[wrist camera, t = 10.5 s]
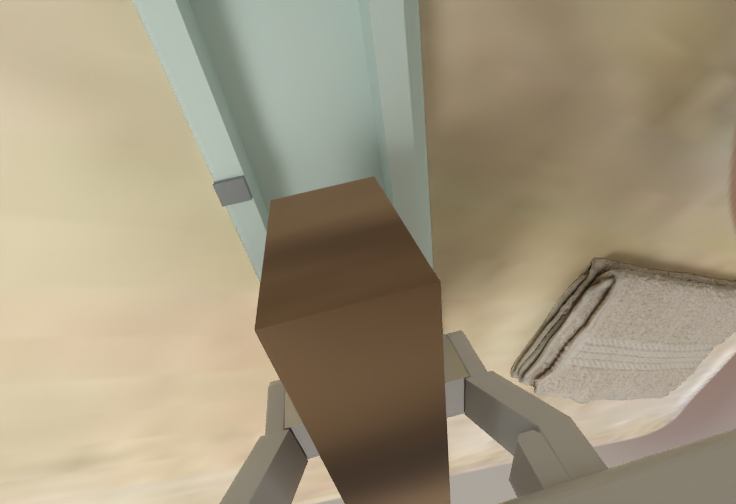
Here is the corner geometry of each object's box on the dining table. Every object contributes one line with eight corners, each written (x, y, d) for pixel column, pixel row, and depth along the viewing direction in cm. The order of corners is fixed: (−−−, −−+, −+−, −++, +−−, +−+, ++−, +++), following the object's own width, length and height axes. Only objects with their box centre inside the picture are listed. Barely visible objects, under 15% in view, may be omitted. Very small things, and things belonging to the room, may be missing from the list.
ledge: (124, -89, 9) (66, -134, 7) (400, -132, 10) (435, -188, 7) (333, 417, 24) (338, 458, 22) (435, 388, 25) (451, 425, 23)
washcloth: (580, 249, 21) (621, 278, 18) (749, 275, 26) (798, 300, 24) (496, 372, 26) (518, 408, 24) (649, 373, 32) (680, 401, 29)
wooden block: (270, 200, 9) (254, 330, 5) (379, 175, 9) (448, 279, 5) (347, 411, 15) (368, 548, 11) (411, 393, 16) (455, 520, 11)
